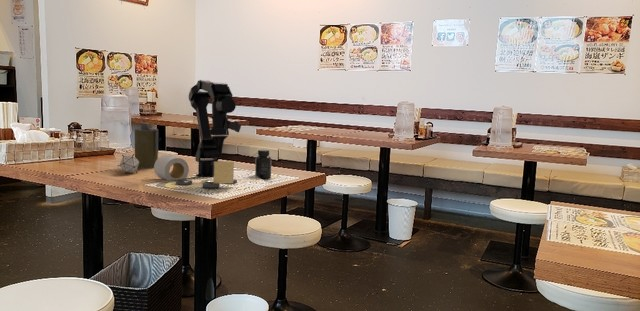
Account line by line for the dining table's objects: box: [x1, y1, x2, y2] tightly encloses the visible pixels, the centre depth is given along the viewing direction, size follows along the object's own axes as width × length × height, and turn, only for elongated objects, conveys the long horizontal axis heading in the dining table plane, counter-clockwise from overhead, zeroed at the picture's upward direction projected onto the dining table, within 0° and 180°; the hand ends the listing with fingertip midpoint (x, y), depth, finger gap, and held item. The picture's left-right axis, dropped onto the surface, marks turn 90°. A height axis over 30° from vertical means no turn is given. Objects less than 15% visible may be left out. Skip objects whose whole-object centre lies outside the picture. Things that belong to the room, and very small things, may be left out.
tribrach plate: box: [175, 178, 238, 186], centre depth 186 cm, size 18×20×2 cm
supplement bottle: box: [254, 149, 272, 180], centre depth 210 cm, size 7×7×12 cm
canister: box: [133, 122, 159, 169], centre depth 224 cm, size 11×10×20 cm
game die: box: [117, 153, 141, 175], centre depth 207 cm, size 9×8×10 cm
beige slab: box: [202, 160, 235, 190], centre depth 179 cm, size 11×6×10 cm, turn 113°
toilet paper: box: [153, 154, 190, 181], centre depth 194 cm, size 10×10×10 cm
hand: (220, 153), depth 195 cm, fingers closed
